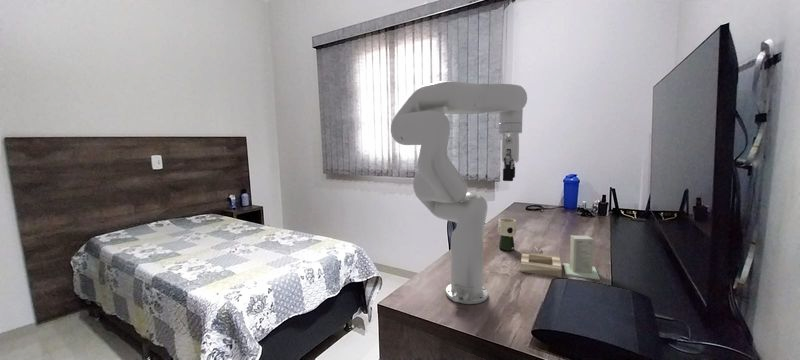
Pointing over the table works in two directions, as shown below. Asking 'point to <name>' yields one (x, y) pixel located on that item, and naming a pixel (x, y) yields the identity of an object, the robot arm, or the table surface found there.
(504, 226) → the character mug
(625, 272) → the table surface
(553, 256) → the holder block
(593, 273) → the sage mat
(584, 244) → the skincare box
